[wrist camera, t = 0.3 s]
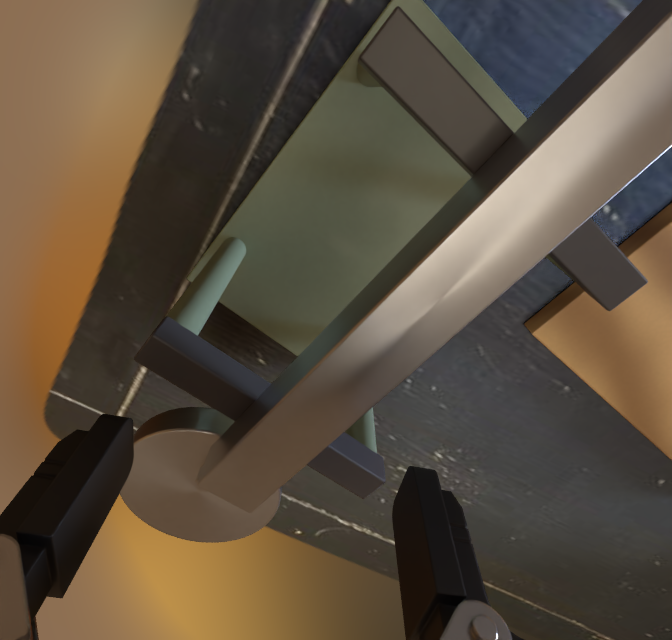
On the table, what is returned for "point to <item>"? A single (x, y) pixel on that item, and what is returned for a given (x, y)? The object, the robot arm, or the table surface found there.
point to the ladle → (419, 292)
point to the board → (623, 336)
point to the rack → (356, 217)
